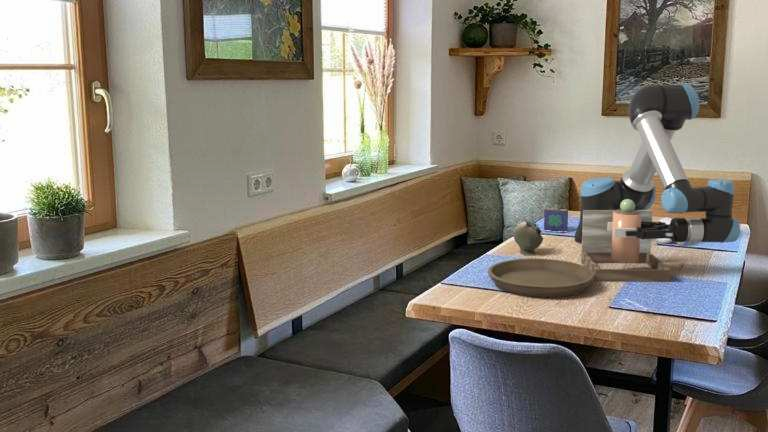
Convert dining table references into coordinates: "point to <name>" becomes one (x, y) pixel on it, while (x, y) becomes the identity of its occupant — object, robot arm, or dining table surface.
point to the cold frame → (599, 251)
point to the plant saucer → (541, 277)
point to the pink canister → (625, 246)
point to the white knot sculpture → (666, 240)
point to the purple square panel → (556, 219)
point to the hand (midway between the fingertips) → (611, 229)
